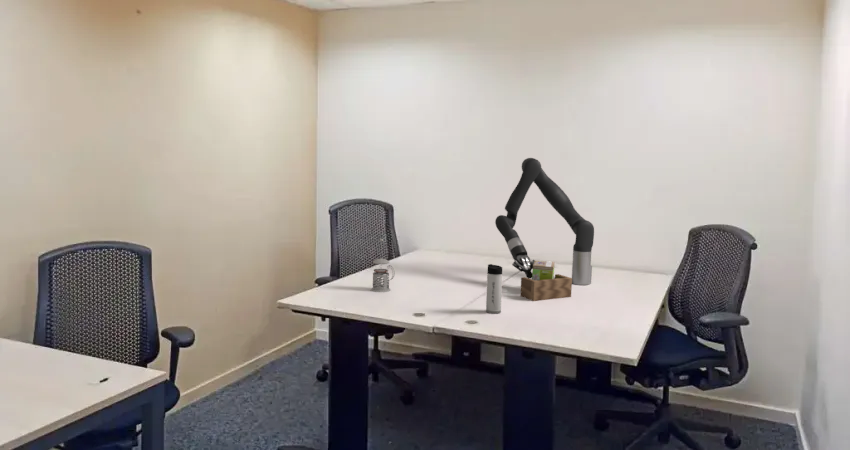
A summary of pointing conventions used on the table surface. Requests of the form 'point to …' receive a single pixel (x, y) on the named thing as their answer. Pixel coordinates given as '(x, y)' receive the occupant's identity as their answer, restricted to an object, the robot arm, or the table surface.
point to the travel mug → (494, 289)
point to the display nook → (546, 288)
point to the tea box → (543, 270)
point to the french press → (381, 276)
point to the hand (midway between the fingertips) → (530, 277)
